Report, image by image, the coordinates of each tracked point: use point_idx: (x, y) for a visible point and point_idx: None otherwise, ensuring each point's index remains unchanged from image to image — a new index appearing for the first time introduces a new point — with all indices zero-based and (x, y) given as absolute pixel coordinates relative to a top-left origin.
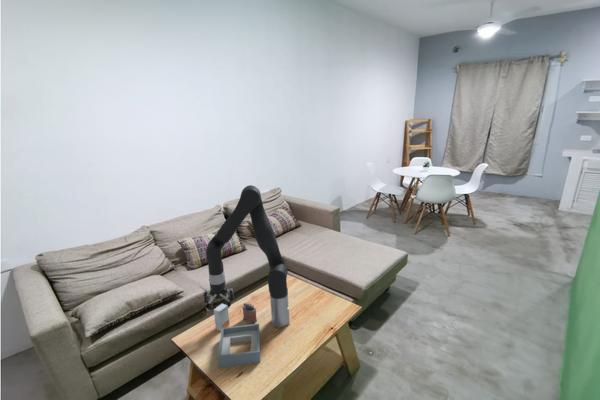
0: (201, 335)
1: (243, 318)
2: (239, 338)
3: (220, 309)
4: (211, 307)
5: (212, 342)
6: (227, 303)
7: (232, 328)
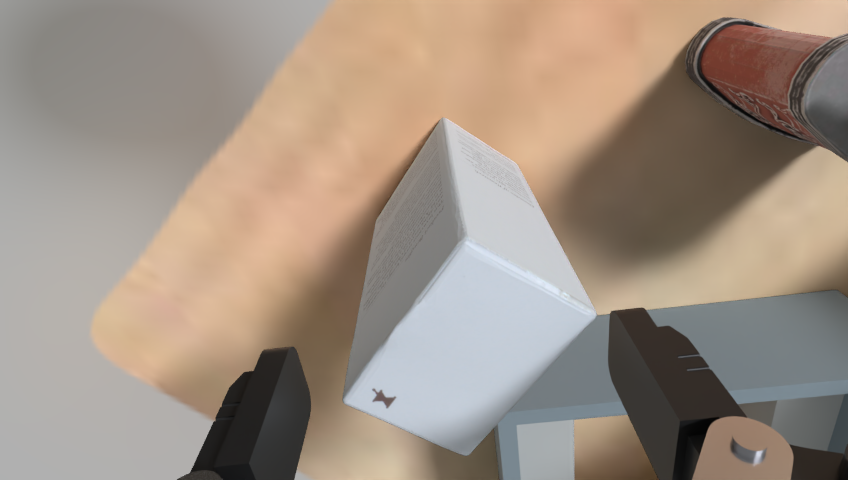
0: (261, 294)
1: (690, 64)
2: None
3: (472, 408)
4: (296, 445)
5: None
6: (653, 467)
7: (613, 409)
